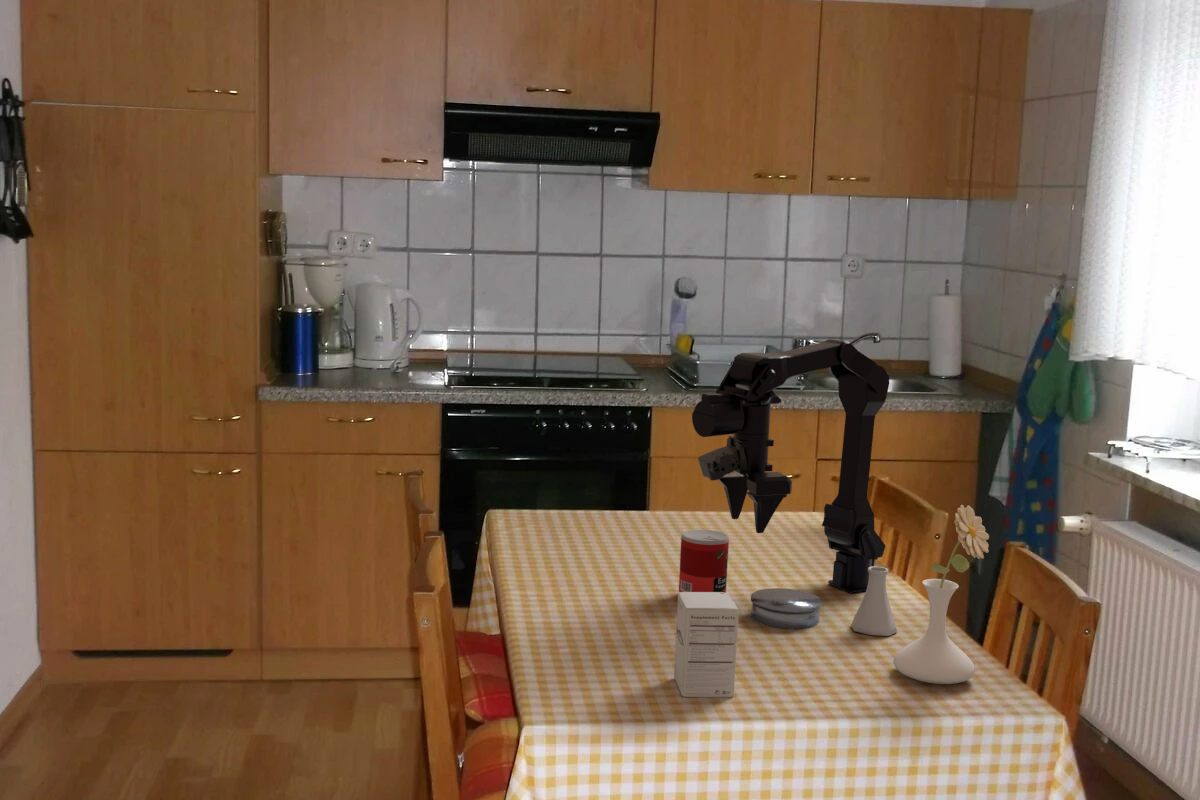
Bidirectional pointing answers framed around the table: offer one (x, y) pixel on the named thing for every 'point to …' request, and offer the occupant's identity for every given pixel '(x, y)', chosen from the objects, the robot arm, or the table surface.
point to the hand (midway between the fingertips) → (747, 525)
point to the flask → (875, 607)
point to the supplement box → (706, 644)
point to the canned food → (703, 561)
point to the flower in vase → (944, 614)
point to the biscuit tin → (785, 608)
